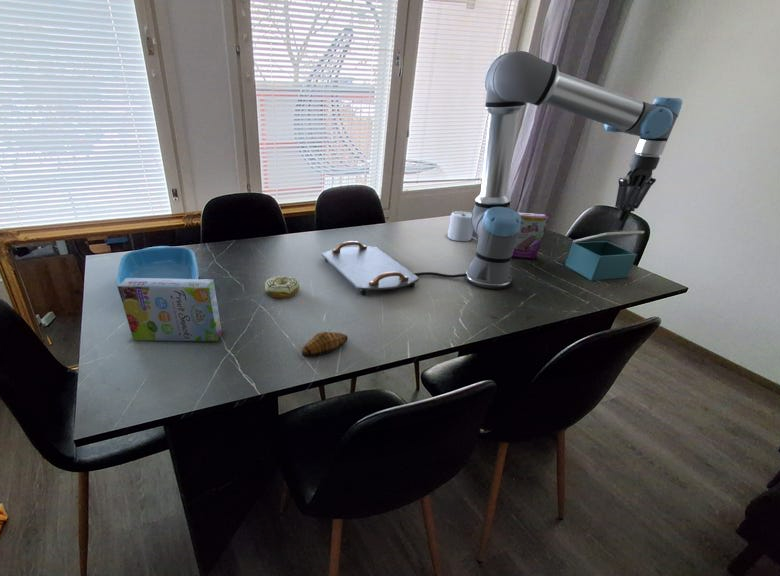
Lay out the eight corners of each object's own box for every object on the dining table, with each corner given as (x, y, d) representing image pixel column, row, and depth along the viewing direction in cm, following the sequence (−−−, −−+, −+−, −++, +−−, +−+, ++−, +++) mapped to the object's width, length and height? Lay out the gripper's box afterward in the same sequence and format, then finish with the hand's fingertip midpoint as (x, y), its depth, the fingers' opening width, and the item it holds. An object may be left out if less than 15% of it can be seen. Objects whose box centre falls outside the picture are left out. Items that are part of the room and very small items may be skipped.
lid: (644, 233, 144) (644, 230, 144) (606, 234, 141) (606, 232, 140) (607, 240, 159) (607, 238, 159) (572, 242, 155) (572, 240, 155)
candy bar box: (507, 257, 165) (518, 215, 156) (505, 253, 169) (515, 211, 160) (536, 259, 164) (549, 217, 155) (533, 255, 169) (545, 213, 159)
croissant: (310, 364, 99) (310, 346, 96) (295, 351, 103) (294, 334, 101) (354, 347, 106) (355, 330, 103) (338, 335, 110) (339, 319, 108)
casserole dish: (205, 308, 120) (201, 285, 116) (119, 319, 113) (112, 295, 109) (196, 262, 148) (192, 242, 144) (127, 269, 141) (121, 248, 137)
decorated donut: (261, 297, 127) (259, 286, 125) (271, 283, 136) (270, 272, 134) (294, 301, 126) (293, 289, 124) (302, 286, 135) (302, 275, 133)
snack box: (222, 331, 110) (214, 278, 101) (217, 342, 105) (208, 288, 97) (140, 330, 109) (125, 276, 100) (132, 341, 104) (115, 286, 96)
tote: (626, 277, 152) (637, 254, 147) (591, 280, 149) (600, 256, 144) (598, 262, 164) (607, 240, 159) (564, 265, 161) (572, 242, 156)
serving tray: (317, 257, 157) (317, 241, 153) (371, 250, 165) (373, 235, 162) (361, 300, 128) (362, 282, 125) (425, 290, 136) (427, 272, 133)
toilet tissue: (443, 234, 187) (447, 211, 181) (468, 233, 189) (473, 210, 183) (452, 241, 178) (456, 218, 173) (478, 241, 180) (483, 217, 175)
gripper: (654, 153, 136) (624, 225, 150) (621, 153, 133) (594, 226, 147) (673, 156, 130) (641, 231, 144) (639, 156, 127) (610, 233, 141)
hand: (617, 229), depth 145 cm, fingers closed
